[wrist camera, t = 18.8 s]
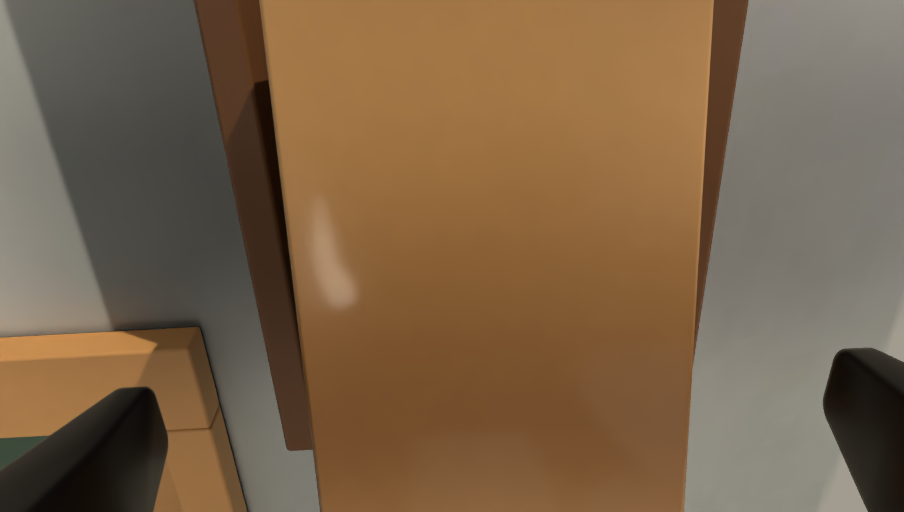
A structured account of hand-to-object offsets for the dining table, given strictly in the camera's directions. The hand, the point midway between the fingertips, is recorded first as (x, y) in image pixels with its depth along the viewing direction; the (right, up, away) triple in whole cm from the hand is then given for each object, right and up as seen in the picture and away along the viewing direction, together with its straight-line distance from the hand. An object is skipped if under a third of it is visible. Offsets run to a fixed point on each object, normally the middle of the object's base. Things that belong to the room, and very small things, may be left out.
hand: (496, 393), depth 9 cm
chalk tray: (-1, +13, -2) cm, 13 cm away
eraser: (0, +2, +3) cm, 3 cm away
